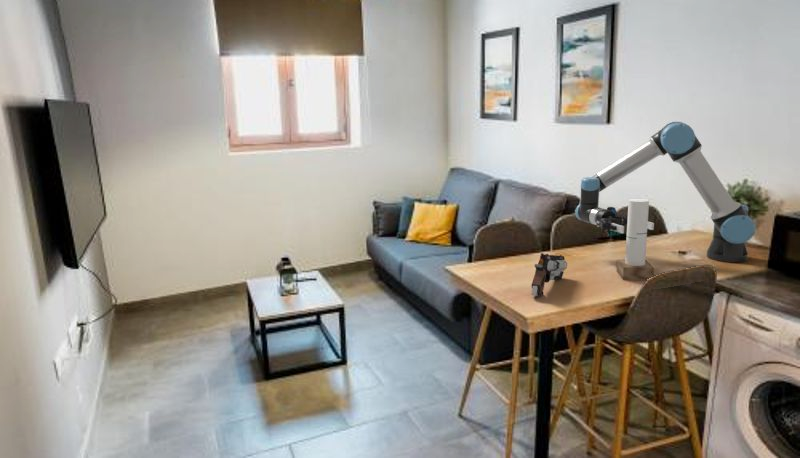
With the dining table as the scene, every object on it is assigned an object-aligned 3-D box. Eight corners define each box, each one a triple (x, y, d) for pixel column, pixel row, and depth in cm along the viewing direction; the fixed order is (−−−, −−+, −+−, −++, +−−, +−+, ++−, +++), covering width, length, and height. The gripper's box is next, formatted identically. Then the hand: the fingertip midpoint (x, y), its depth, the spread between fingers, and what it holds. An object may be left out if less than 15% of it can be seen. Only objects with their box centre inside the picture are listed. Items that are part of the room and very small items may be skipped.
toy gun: (564, 293, 216) (568, 255, 216) (540, 296, 192) (545, 254, 192) (552, 291, 218) (556, 254, 218) (527, 294, 195) (532, 252, 195)
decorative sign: (621, 233, 283) (622, 204, 279) (625, 234, 280) (626, 205, 277) (593, 238, 275) (594, 209, 271) (597, 239, 273) (598, 209, 269)
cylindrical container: (646, 266, 210) (651, 201, 205) (626, 265, 212) (630, 201, 206) (642, 261, 217) (646, 198, 212) (623, 260, 219) (627, 198, 213)
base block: (645, 271, 220) (646, 259, 219) (653, 280, 209) (654, 267, 208) (616, 271, 222) (617, 259, 221) (622, 279, 211) (623, 267, 210)
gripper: (627, 223, 235) (664, 234, 215) (576, 229, 228) (609, 241, 208) (628, 206, 233) (665, 215, 213) (577, 211, 226) (611, 221, 206)
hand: (638, 228), depth 211 cm, fingers open, 13 cm apart
